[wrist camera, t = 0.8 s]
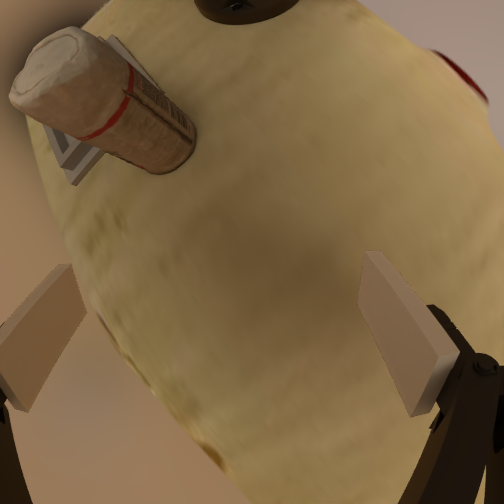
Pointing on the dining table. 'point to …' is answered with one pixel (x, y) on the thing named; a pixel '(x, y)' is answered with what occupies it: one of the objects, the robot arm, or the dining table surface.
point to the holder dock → (78, 152)
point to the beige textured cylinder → (102, 101)
